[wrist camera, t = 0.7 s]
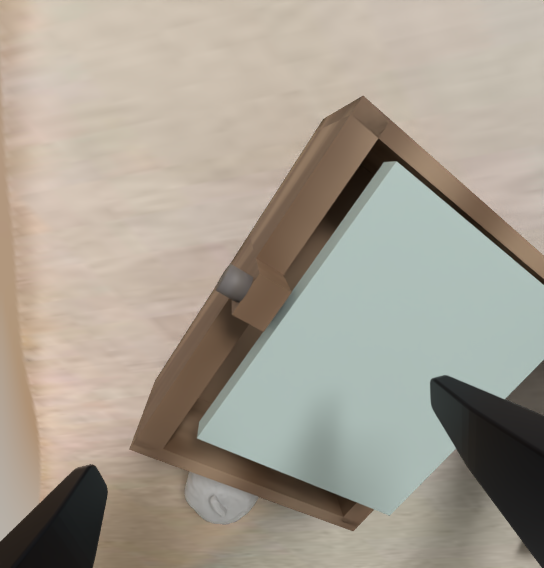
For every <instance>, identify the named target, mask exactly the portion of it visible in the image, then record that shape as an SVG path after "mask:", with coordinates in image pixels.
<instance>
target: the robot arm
mask: <svg viewBox="0 0 544 568" xmlns="http://www.w3.org/2000/svg"><path fill="white" fill-rule="evenodd" d="M430 400H431V406H432V409H433V411H434V413H435V415H436V416H437V418H438V419H439V421H440V423H441V424H442V426H443V428H444V429H445V431H446V433H447V434H448V436H449V438H450V439H451V441H452V443H453V444H454V446H455V448H456V449H457V451H458V452H459V454H460V456H461V457H462V459H463V461H464V462H465V464H466V465H467V467H468V468H469V470H470V471H471V473H472V474H473V475H474V477H475V478H476V480H477V481H478V482H479V484H480V485H481V486H482V488H483V489H484V490H485V492H486V493H487V494H488V496H489V497H490V498H491V500H492V501H493V502H494V504H495V505H496V506H497V508H498V509H499V510H500V512H501V513H502V515H503V516H504V517H505V519H506V520H507V521H508V523H509V524H510V525H511V527H512V528H513V529H514V531H515V532H516V533H517V535H518V536H519V537H520V539H521V540H522V541H523V543H524V544H525V546H526V547H527V548H528V550H529V551H530V552H531V554H532V555H533V556H534V558H535V559H536V560H537V562H538V563H539V564H540V566H541V567H542V568H544V416H543V415H541V414H539V413H536V412H534V411H532V410H529V409H527V408H524V407H522V406H520V405H517V404H515V403H513V402H510V401H508V400H505V399H503V398H501V397H498V396H496V395H493V394H491V393H489V392H486V391H484V390H482V389H479V388H477V387H474V386H472V385H470V384H467V383H465V382H462V381H460V380H458V379H455V378H453V377H451V376H448V375H442V376H438V377H434V378H432V379H431V380H430ZM107 494H108V491H107V485H106V483H105V482H104V480H103V478H102V476H101V475H100V473H99V471H98V469H97V468H96V466H94V465H91V464H90V465H86V466H82V467H78V468H76V469H75V470H73V471H72V472H71V473H70V474H69V475H68V476H67V477H66V478H65V479H64V480H63V481H62V482H61V483H60V484H59V485H58V486H57V487H56V488H55V489H54V490H53V491H52V492H51V493H50V494H49V495H48V496H47V497H46V498H45V499H44V500H43V501H42V502H41V503H40V504H38V505H37V506H36V507H35V508H34V509H33V510H32V511H31V512H30V513H29V514H28V515H27V516H26V517H25V518H24V519H23V520H22V521H21V522H20V523H19V524H18V525H17V526H16V527H15V528H14V529H13V530H12V531H11V532H10V533H9V534H8V535H7V536H6V537H5V538H4V539H3V540H2V541H0V568H93V565H94V560H95V556H96V551H97V546H98V541H99V536H100V531H101V526H102V521H103V515H104V510H105V505H106V500H107Z"/></svg>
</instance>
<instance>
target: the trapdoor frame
mask: <svg viewBox="0 0 544 568" xmlns="http://www.w3.org/2000/svg"><path fill="white" fill-rule="evenodd" d="M394 161H397V162H398V163H399V164H400V165H402V166H403V167H404V168H405V169H406V170H408V171H409V172H410V173H411V174H412V175H414V176H415V177H416V178H417V179H418V180H419V181H421V182H422V183H423V184H424V185H425V186H427V187H428V188H429V189H430V190H431V191H433V192H434V193H435V194H436V195H437V196H438V197H440V198H441V199H442V200H443V201H444V202H446V203H447V204H448V205H449V206H450V207H452V208H453V209H454V210H455V211H456V212H457V213H459V214H460V215H461V216H462V217H463V218H465V219H466V220H467V221H468V222H469V223H471V224H472V225H473V226H474V227H475V228H476V229H478V230H479V231H480V232H481V233H482V234H484V235H485V236H486V237H487V238H488V239H490V240H491V241H492V242H493V243H494V244H495V245H497V246H498V247H499V248H500V249H501V250H503V251H504V252H505V253H506V254H507V255H509V256H510V257H511V258H512V259H513V260H514V261H516V262H517V263H518V264H519V265H520V266H522V267H523V268H524V269H525V270H526V271H528V272H529V273H530V274H531V275H532V276H534V277H535V278H536V279H537V280H538V281H539V282H541V283H542V284H543V285H544V255H542V254H541V253H540V252H539V251H538V250H537V249H536V248H535V247H533V246H532V245H531V244H530V243H529V242H528V241H527V240H525V239H524V238H523V237H522V236H521V235H520V234H519V233H518V232H516V231H515V230H514V229H513V228H512V227H511V226H510V225H509V224H507V223H506V222H505V221H504V220H503V219H502V218H501V217H500V216H498V215H497V214H496V213H495V212H494V211H493V210H492V209H491V208H489V207H488V206H487V205H486V204H485V203H484V202H483V201H481V200H480V199H479V198H478V197H477V196H476V195H475V194H474V193H472V192H471V191H470V190H469V189H468V188H467V187H466V186H465V185H463V184H462V183H461V182H460V181H459V180H458V179H457V178H456V177H454V176H453V175H452V174H451V173H450V172H449V171H448V170H447V169H445V168H444V167H443V166H442V165H441V164H440V163H439V162H437V161H436V160H435V159H434V158H433V157H432V156H431V155H430V154H428V153H427V152H426V151H425V150H424V149H423V148H422V147H421V146H419V145H418V144H417V143H416V142H415V141H414V140H413V139H412V138H410V137H409V136H408V135H407V134H406V133H405V132H404V131H403V130H401V129H400V128H399V127H398V126H397V125H396V124H395V123H393V122H392V121H391V120H390V119H389V118H388V117H387V116H386V115H384V114H383V113H382V112H381V111H380V110H379V109H378V108H377V107H375V106H374V105H373V104H372V103H371V102H370V101H369V100H368V99H366V98H365V97H364V96H362V97H360V98H358V99H357V100H355V101H353V102H352V103H350V104H348V105H346V106H345V107H343V108H341V109H340V110H338V111H336V112H334V113H333V114H331V115H329V116H328V117H326V118H324V119H323V120H322V122H321V123H320V125H319V127H318V128H317V130H316V131H315V133H314V134H313V136H312V137H311V139H310V141H309V142H308V144H307V145H306V147H305V148H304V150H303V151H302V153H301V155H300V156H299V158H298V159H297V161H296V162H295V164H294V165H293V167H292V169H291V170H290V172H289V173H288V175H287V176H286V178H285V179H284V181H283V183H282V184H281V186H280V187H279V189H278V190H277V192H276V193H275V195H274V197H273V198H272V200H271V201H270V203H269V204H268V206H267V207H266V209H265V211H264V212H263V214H262V215H261V217H260V218H259V220H258V221H257V223H256V225H255V226H254V228H253V229H252V231H251V232H250V234H249V235H248V237H247V239H246V240H245V242H244V243H243V245H242V246H241V248H240V250H239V251H238V253H237V254H236V256H235V257H234V259H233V260H232V262H231V264H230V265H229V266H228V267H227V269H226V270H225V271H224V273H223V275H222V276H221V278H220V280H219V282H218V284H217V285H216V287H215V288H214V290H213V292H212V293H211V295H210V296H209V298H208V299H207V301H206V302H205V304H204V306H203V307H202V309H201V310H200V312H199V313H198V315H197V316H196V318H195V320H194V321H193V323H192V324H191V326H190V327H189V329H188V330H187V332H186V334H185V335H184V337H183V338H182V340H181V341H180V343H179V344H178V346H177V348H176V349H175V351H174V352H173V354H172V355H171V357H170V358H169V360H168V362H167V363H166V365H165V366H164V368H163V369H162V371H161V372H160V374H159V376H158V377H157V379H156V380H155V382H154V385H153V388H152V390H151V393H150V396H149V398H148V401H147V404H146V406H145V409H144V412H143V414H142V417H141V420H140V422H139V425H138V428H137V430H136V433H135V436H134V438H133V441H132V444H131V446H130V449H129V450H132V451H135V452H138V453H140V454H143V455H146V456H148V457H151V458H154V459H157V460H159V461H162V462H165V463H168V464H170V465H173V466H176V467H179V468H181V469H184V470H187V471H190V472H192V473H195V474H198V475H201V476H203V477H206V478H209V479H211V480H214V481H217V482H220V483H222V484H225V485H228V486H231V487H233V488H236V489H239V490H242V491H244V492H247V493H250V494H253V495H255V496H258V497H261V498H263V499H266V500H269V501H272V502H274V503H277V504H280V505H283V506H285V507H288V508H291V509H294V510H296V511H299V512H302V513H305V514H307V515H310V516H313V517H316V518H318V519H321V520H324V521H326V522H329V523H332V524H335V525H337V526H340V527H343V528H346V529H348V530H351V531H354V530H355V529H356V528H357V527H358V526H359V525H360V524H361V523H362V522H363V521H364V520H365V519H366V517H367V516H368V515H369V514H370V513H371V512H372V511H373V510H374V509H372V508H369V507H367V506H364V505H362V504H359V503H357V502H354V501H352V500H349V499H347V498H344V497H342V496H339V495H337V494H334V493H332V492H329V491H327V490H324V489H322V488H319V487H317V486H314V485H312V484H309V483H307V482H305V481H302V480H300V479H297V478H295V477H292V476H290V475H287V474H285V473H282V472H280V471H277V470H275V469H272V468H270V467H267V466H265V465H262V464H260V463H257V462H255V461H252V460H250V459H247V458H245V457H242V456H240V455H237V454H235V453H232V452H230V451H227V450H225V449H222V448H220V447H217V446H215V445H212V444H210V443H207V442H205V441H202V440H200V439H197V434H198V427H199V421H200V420H201V419H202V417H203V416H204V414H205V413H206V412H207V410H208V409H209V407H210V406H211V404H212V403H213V402H214V400H215V399H216V397H217V396H218V395H219V393H220V392H221V390H222V389H223V388H224V386H225V385H226V383H227V382H228V381H229V379H230V378H231V376H232V375H233V374H234V372H235V371H236V369H237V368H238V367H239V365H240V364H241V362H242V361H243V360H244V358H245V357H246V355H247V354H248V352H249V351H250V350H251V348H252V347H253V345H254V344H255V343H256V341H257V340H258V338H259V337H260V336H261V334H262V333H263V332H264V331H265V329H266V328H267V327H268V325H269V324H270V322H271V321H272V320H273V318H274V317H275V315H276V314H277V313H278V311H279V310H280V308H281V307H282V306H283V304H284V303H285V301H286V300H287V299H288V297H289V296H290V294H291V293H292V291H293V289H294V288H295V286H296V285H297V284H298V282H299V281H300V279H301V278H302V277H303V275H304V274H305V272H306V271H307V270H308V268H309V267H310V265H311V264H312V263H313V261H314V260H315V258H316V257H317V255H318V254H319V253H320V251H321V250H322V248H323V247H324V246H325V244H326V243H327V241H328V240H329V239H330V237H331V236H332V234H333V233H334V232H335V230H336V229H337V227H338V226H339V225H340V223H341V222H342V220H343V219H344V218H345V216H346V215H347V213H348V212H349V211H350V209H351V208H352V206H353V205H354V203H355V202H356V201H357V199H358V198H359V196H360V195H361V194H362V192H363V191H364V189H365V188H366V187H367V185H368V184H369V182H370V181H371V180H372V178H373V177H374V175H375V174H376V173H377V171H378V170H379V168H380V167H381V166H382V164H383V163H384V162H394Z"/></svg>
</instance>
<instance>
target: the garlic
mask: <svg viewBox="0 0 544 568" xmlns="http://www.w3.org/2000/svg"><path fill="white" fill-rule="evenodd" d="M185 498H186V501H187V502H188V504H189V505H190V506H191V507H192V508H193V509H194V510H195V511H196V513H197V514H198V515H200V516H201V517H202V518H203V519H204V520H206V521H208V522H211V523H214V524H230V523H232V522H236V521H237V520H239V519H240V518H241V517H243V516H244V515H246V514H247V513H248V512H249V511H250V510H251V509H252V507H253V506H254V504H255V503H256V501H257V499H258V496H255V495H253V494H250V493H247V492H244V491H242V490H239V489H236V488H233V487H231V486H228V485H225V484H222V483H220V482H217V481H214V480H211V479H209V478H206V477H203V476H201V475H198V474H195V473H192V472H190V471H189V474H188V478H187V482H186V486H185Z"/></svg>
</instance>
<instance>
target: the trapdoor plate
mask: <svg viewBox="0 0 544 568" xmlns="http://www.w3.org/2000/svg"><path fill="white" fill-rule="evenodd" d="M543 360H544V285H543V284H542V283H541V282H539V281H538V280H537V279H536V278H535V277H534V276H532V275H531V274H530V273H529V272H528V271H526V270H525V269H524V268H523V267H522V266H520V265H519V264H518V263H517V262H516V261H514V260H513V259H512V258H511V257H510V256H509V255H507V254H506V253H505V252H504V251H503V250H501V249H500V248H499V247H498V246H497V245H495V244H494V243H493V242H492V241H491V240H490V239H488V238H487V237H486V236H485V235H484V234H482V233H481V232H480V231H479V230H478V229H476V228H475V227H474V226H473V225H472V224H471V223H469V222H468V221H467V220H466V219H465V218H463V217H462V216H461V215H460V214H459V213H457V212H456V211H455V210H454V209H453V208H452V207H450V206H449V205H448V204H447V203H446V202H444V201H443V200H442V199H441V198H440V197H438V196H437V195H436V194H435V193H434V192H433V191H431V190H430V189H429V188H428V187H427V186H425V185H424V184H423V183H422V182H421V181H419V180H418V179H417V178H416V177H415V176H414V175H412V174H411V173H410V172H409V171H408V170H406V169H405V168H404V167H403V166H402V165H400V164H399V163H398V162H397V161H394V162H384V163H383V164H382V166H381V167H380V168H379V170H378V171H377V173H376V174H375V175H374V177H373V178H372V180H371V181H370V182H369V184H368V185H367V187H366V188H365V189H364V191H363V192H362V194H361V195H360V196H359V198H358V199H357V201H356V202H355V203H354V205H353V206H352V208H351V209H350V211H349V212H348V213H347V215H346V216H345V218H344V219H343V220H342V222H341V223H340V225H339V226H338V227H337V229H336V230H335V232H334V233H333V234H332V236H331V237H330V239H329V240H328V241H327V243H326V244H325V246H324V247H323V248H322V250H321V251H320V253H319V254H318V255H317V257H316V258H315V260H314V261H313V263H312V264H311V265H310V267H309V268H308V270H307V271H306V272H305V274H304V275H303V277H302V278H301V279H300V281H299V282H298V284H297V285H296V286H295V288H294V289H293V291H292V293H291V294H290V296H289V297H288V299H287V300H286V301H285V303H284V304H283V306H282V307H281V308H280V310H279V311H278V313H277V314H276V315H275V317H274V318H273V320H272V321H271V322H270V324H269V325H268V327H267V328H266V329H265V331H264V332H263V333H262V334H261V336H260V337H259V338H258V340H257V341H256V343H255V344H254V345H253V347H252V348H251V350H250V351H249V352H248V354H247V355H246V357H245V358H244V360H243V361H242V362H241V364H240V365H239V367H238V368H237V369H236V371H235V372H234V374H233V375H232V376H231V378H230V379H229V381H228V382H227V383H226V385H225V386H224V388H223V389H222V390H221V392H220V393H219V395H218V396H217V397H216V399H215V400H214V402H213V403H212V404H211V406H210V407H209V409H208V410H207V412H206V413H205V414H204V416H203V417H202V419H201V420H200V421H199V427H198V434H197V439H200V440H202V441H205V442H207V443H210V444H212V445H215V446H217V447H220V448H222V449H225V450H227V451H230V452H232V453H235V454H237V455H240V456H242V457H245V458H247V459H250V460H252V461H255V462H257V463H260V464H262V465H265V466H267V467H270V468H272V469H275V470H277V471H280V472H282V473H285V474H287V475H290V476H292V477H295V478H297V479H300V480H302V481H305V482H307V483H309V484H312V485H314V486H317V487H319V488H322V489H324V490H327V491H329V492H332V493H334V494H337V495H339V496H342V497H344V498H347V499H349V500H352V501H354V502H357V503H359V504H362V505H364V506H367V507H369V508H372V509H374V510H377V511H379V512H382V513H384V514H387V515H389V516H390V515H391V514H392V513H393V512H394V511H395V510H396V509H397V508H398V507H399V506H400V505H401V503H402V502H403V501H404V500H405V499H406V498H407V497H408V496H409V495H410V494H411V493H412V492H413V491H414V490H415V489H416V488H417V487H418V486H419V485H420V484H421V483H422V482H423V481H424V480H425V479H426V478H427V477H428V476H429V475H430V474H431V473H432V472H433V471H434V470H435V469H436V468H437V467H438V466H439V465H440V464H441V463H442V462H443V461H444V460H445V459H446V458H447V457H448V456H449V455H450V454H451V453H452V452H453V451H454V450H455V449H456V448H455V446H454V444H453V443H452V441H451V439H450V438H449V436H448V434H447V433H446V431H445V429H444V428H443V426H442V424H441V423H440V421H439V419H438V418H437V416H436V415H435V413H434V411H433V409H432V406H431V400H430V380H431V379H432V378H434V377H438V376H442V375H448V376H451V377H453V378H455V379H458V380H460V381H462V382H465V383H467V384H470V385H472V386H474V387H477V388H479V389H482V390H484V391H486V392H489V393H491V394H493V395H496V396H498V397H501V398H503V399H505V398H506V397H507V396H508V395H509V394H510V393H511V392H512V391H513V390H514V389H515V388H516V387H517V386H518V385H519V384H520V383H521V382H522V381H523V380H524V379H525V378H526V377H527V376H528V375H529V374H530V373H531V372H532V371H533V370H534V369H535V368H536V367H537V366H538V365H539V364H540V363H541V362H542V361H543Z"/></svg>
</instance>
